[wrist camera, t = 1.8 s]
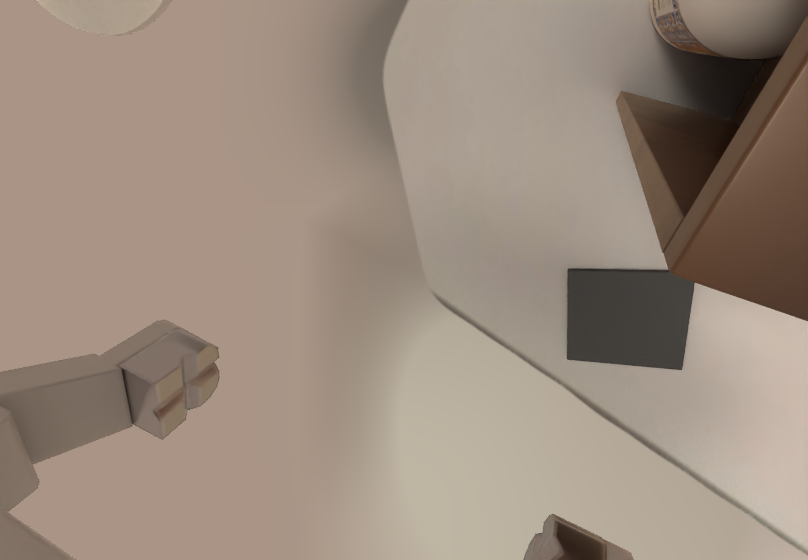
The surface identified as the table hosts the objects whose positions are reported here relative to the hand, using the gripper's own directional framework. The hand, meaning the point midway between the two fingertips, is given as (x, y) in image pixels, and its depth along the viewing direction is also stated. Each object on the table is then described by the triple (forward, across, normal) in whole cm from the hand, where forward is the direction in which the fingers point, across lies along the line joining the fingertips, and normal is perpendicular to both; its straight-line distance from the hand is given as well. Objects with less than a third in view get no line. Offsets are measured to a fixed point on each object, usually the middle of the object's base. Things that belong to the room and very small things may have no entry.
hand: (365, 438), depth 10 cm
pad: (+30, +11, -10) cm, 33 cm away
